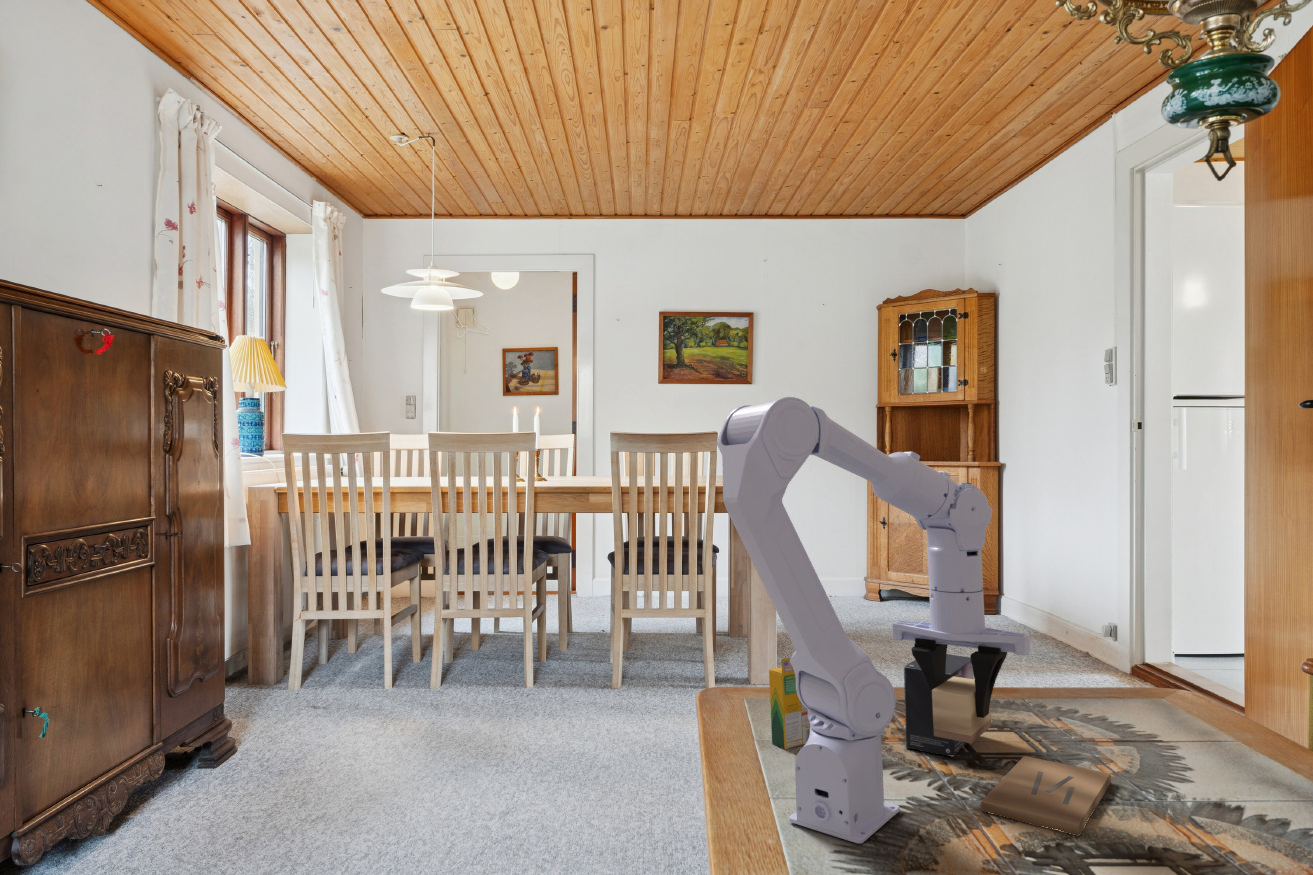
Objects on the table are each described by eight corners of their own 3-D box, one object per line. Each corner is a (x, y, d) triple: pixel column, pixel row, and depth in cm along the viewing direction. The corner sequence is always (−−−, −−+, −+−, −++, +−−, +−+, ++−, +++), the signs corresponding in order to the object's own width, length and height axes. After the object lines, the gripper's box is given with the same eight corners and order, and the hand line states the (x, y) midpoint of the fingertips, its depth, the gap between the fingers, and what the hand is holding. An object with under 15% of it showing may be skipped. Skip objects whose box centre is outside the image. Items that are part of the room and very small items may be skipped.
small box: (956, 759, 92) (952, 673, 93) (904, 749, 96) (900, 666, 97) (979, 734, 101) (975, 655, 101) (930, 726, 105) (926, 649, 105)
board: (1078, 836, 72) (1078, 825, 72) (981, 811, 78) (981, 801, 78) (1110, 782, 84) (1110, 773, 85) (1024, 764, 90) (1024, 755, 90)
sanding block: (971, 743, 81) (969, 695, 81) (933, 735, 83) (931, 689, 83) (991, 725, 86) (989, 681, 86) (955, 719, 88) (953, 676, 89)
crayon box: (812, 732, 103) (809, 647, 104) (827, 739, 101) (824, 651, 101) (770, 743, 99) (767, 654, 100) (785, 750, 97) (781, 659, 98)
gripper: (1034, 589, 84) (1041, 713, 83) (906, 580, 93) (911, 692, 92) (1017, 598, 78) (1023, 731, 77) (883, 587, 87) (888, 706, 87)
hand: (961, 711), depth 84 cm, fingers closed on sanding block, 4 cm apart
